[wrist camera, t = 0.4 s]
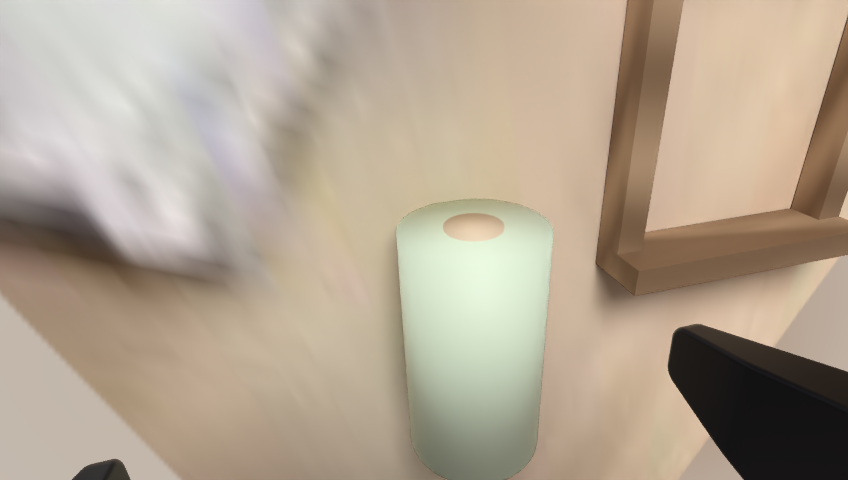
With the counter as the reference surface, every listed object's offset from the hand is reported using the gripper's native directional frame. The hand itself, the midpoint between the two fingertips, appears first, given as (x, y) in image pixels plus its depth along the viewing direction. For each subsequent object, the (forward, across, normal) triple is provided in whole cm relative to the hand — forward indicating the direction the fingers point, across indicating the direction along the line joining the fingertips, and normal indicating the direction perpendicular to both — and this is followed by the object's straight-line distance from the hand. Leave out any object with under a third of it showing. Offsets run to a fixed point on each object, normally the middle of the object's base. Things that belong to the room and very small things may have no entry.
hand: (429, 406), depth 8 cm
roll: (+13, -4, +7) cm, 15 cm away
